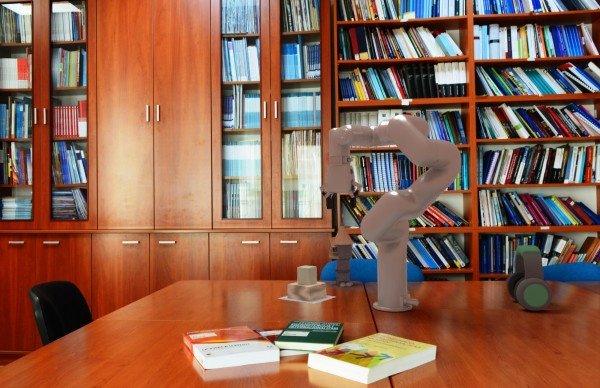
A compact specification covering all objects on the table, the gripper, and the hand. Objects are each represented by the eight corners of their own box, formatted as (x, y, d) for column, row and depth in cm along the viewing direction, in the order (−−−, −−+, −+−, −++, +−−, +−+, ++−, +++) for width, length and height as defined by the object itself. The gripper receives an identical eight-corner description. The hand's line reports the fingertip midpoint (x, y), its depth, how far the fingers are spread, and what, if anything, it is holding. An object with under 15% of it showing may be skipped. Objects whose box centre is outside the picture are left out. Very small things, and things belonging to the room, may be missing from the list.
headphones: (555, 313, 155) (554, 248, 155) (517, 312, 157) (516, 248, 157) (538, 300, 174) (537, 243, 174) (505, 299, 176) (504, 242, 176)
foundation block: (326, 296, 180) (326, 282, 180) (310, 301, 172) (310, 287, 172) (304, 293, 186) (303, 280, 186) (287, 298, 178) (287, 284, 178)
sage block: (316, 283, 180) (316, 266, 180) (308, 285, 176) (308, 268, 176) (305, 281, 183) (305, 265, 183) (297, 283, 179) (297, 267, 179)
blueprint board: (336, 298, 180) (336, 296, 180) (314, 306, 169) (314, 303, 169) (300, 294, 190) (300, 292, 190) (277, 300, 179) (277, 298, 179)
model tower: (325, 284, 211) (324, 212, 211) (349, 282, 214) (349, 212, 214) (334, 287, 202) (333, 213, 202) (359, 286, 205) (358, 212, 205)
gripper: (365, 161, 181) (367, 208, 181) (325, 164, 191) (326, 209, 190) (355, 159, 175) (357, 208, 174) (314, 163, 185) (315, 209, 184)
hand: (341, 208), depth 182 cm, fingers open, 9 cm apart
